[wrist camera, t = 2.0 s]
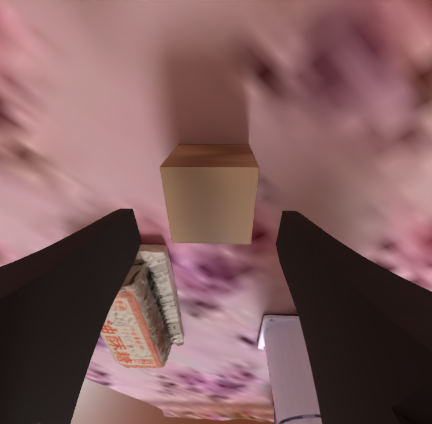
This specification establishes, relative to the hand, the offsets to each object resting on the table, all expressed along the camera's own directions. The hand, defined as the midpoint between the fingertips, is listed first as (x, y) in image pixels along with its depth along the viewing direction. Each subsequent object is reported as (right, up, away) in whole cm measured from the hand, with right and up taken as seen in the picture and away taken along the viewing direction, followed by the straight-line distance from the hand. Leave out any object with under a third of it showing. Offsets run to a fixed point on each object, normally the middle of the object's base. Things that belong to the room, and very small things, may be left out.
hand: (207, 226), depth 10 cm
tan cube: (0, +3, +6) cm, 7 cm away
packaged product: (-9, -10, +15) cm, 20 cm away
